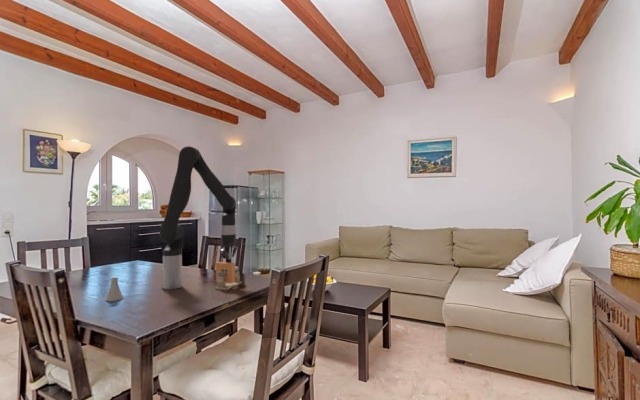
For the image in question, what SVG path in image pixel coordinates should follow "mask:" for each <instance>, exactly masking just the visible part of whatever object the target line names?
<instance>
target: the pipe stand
mask: <svg viewBox="0 0 640 400" xmlns="http://www.w3.org/2000/svg"><path fill="white" fill-rule="evenodd" d="M218 275H219V276H218V282H217V286H216V287H215V288H214V289H215V290H218V291H227V290H229V289H231V288H234V287H237V286H239V285H241V284H243V281H240V280H241V279H240V267H239V266H235V282H234V283H226V276H224V275H227V270H223V271H221V272H219V273H218Z"/></svg>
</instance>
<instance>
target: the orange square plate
mask: <svg viewBox="0 0 640 400" xmlns="http://www.w3.org/2000/svg"><path fill="white" fill-rule="evenodd" d="M235 265H236V264H235V262H231V263H226V261H225V262H223V261H217V262H216V263H215V282H216V283H218V276H219V275H218V273H219V272H221V271H223V270H227V275H224V276H226V283H234V282H235V267H236V266H235Z"/></svg>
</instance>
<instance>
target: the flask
mask: <svg viewBox="0 0 640 400" xmlns="http://www.w3.org/2000/svg"><path fill="white" fill-rule="evenodd" d="M109 280H110V287H109V290H108V292H107V295H106V298H105V301H106V302H116V301H122V299H124V296H123V293H122V291H121V289H120V287H119V281H118V280H119V277H111V278H110V279H109Z"/></svg>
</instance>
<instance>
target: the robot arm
mask: <svg viewBox="0 0 640 400" xmlns="http://www.w3.org/2000/svg"><path fill="white" fill-rule="evenodd" d="M177 161H178V162H177V168H176V173H175V176H174V181H173V184H172V188H171V191H170V192H171V193H170V195H169V200H168V201H169V202H168V204H167V208H166V214H165V217H164V218H163V221H162V224H161V228H160V230H159V239H161V241H162V242H164V243H166V246H165V247H164V249H162V269H161V271H160V273H161V275H160V276H161V277H160V278H161V279H160V280H161V281H160V282H161V283H160V284H161V288H162V289H163V290H175V289H179V288H180V289H181V288H182V286H183V281H182V280H183V256H182V255H183V249H184V241H185V240H184V238H185V235H184V233H185V232H184V229H183V226H181V225H180V224H179V220H180V218H181V215H182V214H183V212H184V211H185V209H186V207H187V206H188V203H189V200H190V196H191V192H192V173H193V170H195V171H196V172H197V173H198V174H199V176H200V178H201V179H202V181H203V183H204V185H205V186H206V187H207V188H208V190H209V191H210V192H211V193H212V195H213V196H214V197H215V199H216V200H217V202H218V203H219V204H220V206H221V207H222V216H221V230H220V231H221V233H220V235H221V237H220V238H221V240H220V241H221V243H222V248H221V249H219V253H220V255H221V257H222V258H223V259H225V263H232V259H233V258H234V257H235V255H236V252H237V249H238V246H235V245H236V244H235V243H236V240H237V229H236V228H237V227H236V210H237V209H236V208H237V202H236V199H235V197H233V196H231V195H230V193H229V192H228V190H227V189H226V187H225V186H224V184H223V183H222V182H221V181H220V180H219V178H218V177H217V176H216V175H215V174H214V172H213V171H212V170H211V169H210V167H209V165H208V164H207V163H206V161H205V160H204V157H203V156H202V154H201V152H200V151H199V150H198V148H196V147H193V146H189V145H188V146H187V145H186V146H184V147H182V148H181V150H180V151H179V154H178V160H177Z"/></svg>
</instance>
